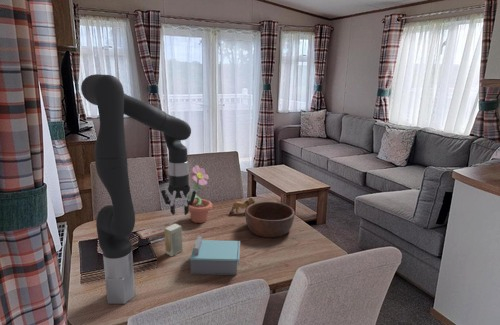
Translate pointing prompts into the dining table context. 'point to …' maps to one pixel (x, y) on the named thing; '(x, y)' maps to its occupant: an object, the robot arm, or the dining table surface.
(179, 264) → the dining table surface
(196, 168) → the decorative flower
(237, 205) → the lion figurine
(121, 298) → the robot arm
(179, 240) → the skincare box
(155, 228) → the packaged product
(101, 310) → the dining table surface
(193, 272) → the mailer box
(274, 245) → the dining table surface
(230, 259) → the lid
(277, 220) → the wooden bowl
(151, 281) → the dining table surface
